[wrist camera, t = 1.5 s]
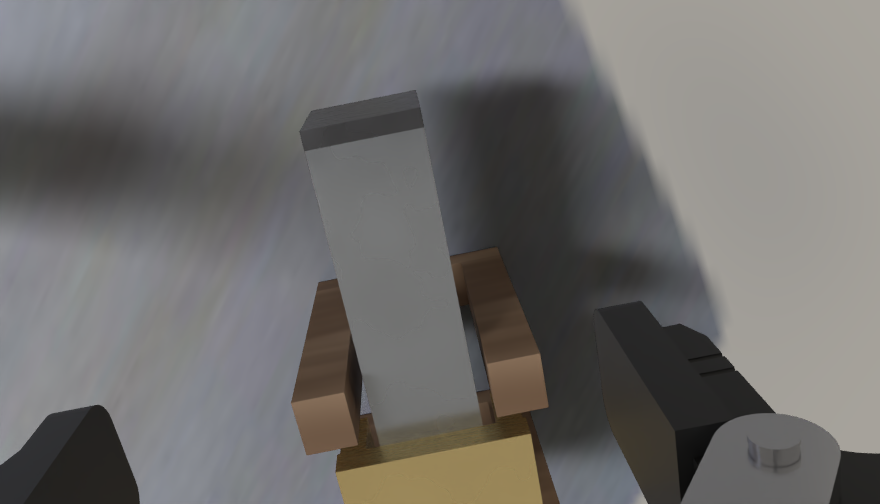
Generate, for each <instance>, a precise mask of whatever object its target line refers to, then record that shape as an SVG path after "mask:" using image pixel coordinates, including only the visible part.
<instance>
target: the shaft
mask: <svg viewBox="0 0 880 504" xmlns="http://www.w3.org/2000/svg"><path fill="white" fill-rule="evenodd" d="M299 132H300V135H301V139H302V143H303V147H304V151H305V155H306V159H307V163H308V167H309V171H310V174H311V178H312V182H313V186H314V190H315V194H316V198H317V202H318V206H319V210H320V213H321V217H322V221H323V225H324V229H325V233H326V237H327V241H328V245H329V249H330V252H331V256H332V260H333V264H334V268H335V272H336V276H337V280H338V284H339V288H340V291H341V295H342V299H343V303H344V307H345V311H346V315H347V319H348V323H349V327H350V330H351V334H352V338H353V342H354V346H355V350H356V354H357V358H358V362H359V366H360V369H361V373H362V377H363V381H364V385H365V389H366V393H367V397H368V401H369V405H370V408H371V412H372V416H373V420H374V424H375V428H376V432H377V436H378V440H379V444H380V446H383V445H388V444H393V443H398V442H403V441H409V440H414V439H419V438H424V437H429V436H434V435H439V434H444V433H449V432H454V431H459V430H464V429H469V428H474V427H479V426H483V424H482V419H481V414H480V409H479V404H478V399H477V394H476V388H475V383H474V378H473V373H472V368H471V363H470V358H469V353H468V348H467V343H466V338H465V333H464V328H463V322H462V317H461V312H460V307H459V302H458V297H457V292H456V287H455V282H454V277H453V272H452V267H451V261H450V256H449V251H448V246H447V241H446V236H445V231H444V226H443V221H442V216H441V211H440V206H439V201H438V195H437V190H436V185H435V180H434V175H433V170H432V165H431V160H430V155H429V150H428V145H427V140H426V135H425V129H424V124H423V119H422V114H421V109H420V105H419V101H418V97H417V93H416V90H413V91H408V92H403V93H398V94H393V95H388V96H384V97H379V98H374V99H369V100H364V101H359V102H354V103H349V104H344V105H339V106H334V107H329V108H324V109H319V110H314V111H311V112H310V114H309V116H308V118H307V119H306V121H305V123H304V124H303V126H302V128H301V130H300V131H299Z"/></svg>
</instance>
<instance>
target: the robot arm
mask: <svg viewBox="0 0 880 504" xmlns="http://www.w3.org/2000/svg"><path fill="white" fill-rule="evenodd" d="M594 329H595V337H596V345H597V353H598V361H599V369H600V378H601V386H602V394H603V400H604V405H605V409H606V413H607V417H608V421H609V424H610V427H611V429H612V432H613V434H614V436H615V438H616V440H617V442H618V444H619V446H620V448H621V450H622V452H623V454H624V456H625V458H626V460H627V462H628V464H629V466H630V468H631V470H632V472H633V474H634V476H635V478H636V480H637V482H638V484H639V486H640V488H641V490H642V493H643V495H644V497H645V499H646V501H647V503H648V504H880V454H872V453H869V454H868V453H855V452H847V451H841V450H840V447H839V445H838V443H837V441H836V440H835V439H834V438H833V436H832V435H831V434H830V433H829V432H827V431H826V430H825V429H823V428H822V427H820V426H818V425H816V424H815V423H812V422H810V421H807V420H805V419H802V418H798V417H794V416H790V415H785V414H776V413H775V412H774V411H773V410H772V409H771V407H770V406H769V405H768V404H767V403H766V402H765V401H764V400H763V399H762V397H761V396H760V395H759V394H758V393H757V392H756V391H755V389H754V388H753V387H752V386H751V385H750V384H749V383H748V382H747V381H746V380H745V378H744V377H743V376H742V375H741V374H740V373H739V372H738V371H735V369H734V366H733V365H732V364H731V363H730V362H729V361H728V360H727V358H726V357H725V356H722V353H721V352H720V350H719V349H718V348H717V347H716V346H715V345H714V344H713V343H712V342H711V340H710V339H709V338H708V337H707V336H706V335H703V334H701V333H699V332H697V331H695V330H693V329H690V328H688V327H686V326H684V325H682V324H677V325H672V326H667V327H662V326H661V325H660V324H659V323H658V321H657V320H656V319H655V318H654V316H653V315H652V314H651V313H650V311H649V310H648V309H647V308H646V306H645V305H644V304H643V303H642V302H641V301H637V302H632V303H627V304H621V305H616V306H611V307H606V308H601V309H596V310H595V311H594ZM0 504H140V501H139V492H138V487H137V484H136V481H135V478H134V476H133V473H132V471H131V468H130V465H129V463H128V460H127V458H126V455H125V453H124V450H123V447H122V445H121V442H120V440H119V437H118V434H117V432H116V429H115V427H114V424H113V422H112V419H111V417H110V415H109V413H108V412H107V410H106V409H105V408H104V407H102V406H100V405H94V406H89V407H84V408H78V409H73V410H68V411H63V412H58V413H53V414H50V415H48V416H47V417H46V418H45V420H44V421H43V422H42V423H41V425H40V426H39V427H38V428H37V430H36V431H35V432H34V433H33V435H32V436H31V437H30V439H29V440H28V441H27V442H26V444H25V445H24V446H23V447H22V449H21V450H20V451H18V452H17V453H16V454H15V455H13V456H12V457H11V458H9V459H8V460H7V461H5V462H4V463H3V464H2V465H0Z"/></svg>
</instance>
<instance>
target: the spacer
mask: <svg viewBox="0 0 880 504" xmlns="http://www.w3.org/2000/svg"><path fill="white" fill-rule="evenodd" d="M490 397H491V402H492V407H493V413H494V418H495V423H494V424H489V425H484V426H479V427H474V428H469V429H464V430H459V431H454V432H449V433H444V434H439V435H434V436H429V437H424V438H419V439H414V440H409V441H403V442H398V443H393V444H388V445H383V446H378V447H375V445H374V441H373V437H372V433H371V429H370V425H369V421H368V418H367V417H366V418H360V424H359V439H358V445H356V446H351V447H346V448H341V452H340V454H338V455H337V463H336V476H337V480H338V483H339V487H340V490H341V494H342V497H343V501H344V504H543V502H542V496H541V490H540V484H539V479H538V473H537V467H536V461H535V455H534V449H533V443H532V438H531V433H530V429H529V426H528V423H527V420H526V417H524V418H523V417H522V414H521V413H517V414H512V415H507V416H502V417H497V414H496V410H495V406H494V402H493V398H492V394H491V393H490Z"/></svg>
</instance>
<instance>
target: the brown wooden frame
mask: <svg viewBox="0 0 880 504" xmlns="http://www.w3.org/2000/svg"><path fill="white" fill-rule="evenodd" d="M450 261H451V267H452V272H453V277H454V282H455V287H456V292H457V297H458V302H459V306H464V305H469V306H470V310H471V314H472V318H473V322H474V326H475V330H476V334H477V338H478V342H479V346H480V350H481V354H482V358H483V362H484V366H485V370H486V374H487V378H488V382H489V386H490V390H486V391H481V392H476V394H477V399H478V404H479V409H480V414H481V419H482V424H483V426H484V425H489V424H494V423H495V418H494V413H493V407H492V402H491V397H490V393H491V394H492V398H493V402H494V406H495V410H496V414H497V417H502V416H507V415H512V414H517V413H521V414H522V417H523V418H524V417H526V420H527V423H528V426H529V429H530V433H531V438H532V443H533V449H534V455H535V461H536V467H537V473H538V479H539V484H540V490H541V496H542V502H543V504H560V503H559V500H558V497H557V494H556V491H555V488H554V485H553V481H552V478H551V475H550V472H549V469H548V466H547V463H546V460H545V457H544V454H543V451H542V448H541V445H540V442H539V439H538V435H537V432H536V429H535V426H534V423H533V420H532V417H531V414H530V411H532V410H537V409H542V408H548V407H549V406H548V400H547V393H546V387H545V381H544V374H543V368H542V362H541V356H540V352H539V349H538V347H537V344H536V342H535V339H534V337H533V335H532V332H531V330H530V327H529V325H528V322H527V320H526V317H525V315H524V312H523V310H522V307H521V305H520V302H519V300H518V297H517V295H516V292H515V290H514V288H513V285H512V283H511V280H510V278H509V275H508V273H507V270H506V268H505V265H504V263H503V260H502V258H501V255H500V253H499V250H498V248H497V247H494V248H489V249H484V250H479V251H474V252H469V253H464V254H459V255H454V256H450ZM361 392H362V373H361V369H360V366H359V362H358V358H357V354H356V350H355V346H354V342H353V338H352V334H351V330H350V327H349V323H348V319H347V315H346V311H345V307H344V303H343V299H342V295H341V291H340V288H339V284H338V280H337V279H333V280H328V281H323V282H319V283H318V287H317V291H316V296H315V300H314V305H313V309H312V313H311V318H310V322H309V327H308V331H307V335H306V340H305V344H304V349H303V353H302V357H301V362H300V366H299V371H298V375H297V379H296V384H295V388H294V393H293V397H292V401H291V404H292V408H293V411H294V414H295V418H296V421H297V424H298V428H299V431H300V434H301V438H302V441H303V444H304V448H305V451H306V455H311V454H316V453H321V452H326V451H331V450H336V449H341V448H346V447H351V446H356V445H358V439H359V424H360V418H366V417H367V418H368V421H369V425H370V429H371V433H372V437H373V441H374V445H375V447H378V446H380V444H379V440H378V436H377V432H376V428H375V424H374V420H373V416H372V413H370V414H365V415H360V408H361Z"/></svg>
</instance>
